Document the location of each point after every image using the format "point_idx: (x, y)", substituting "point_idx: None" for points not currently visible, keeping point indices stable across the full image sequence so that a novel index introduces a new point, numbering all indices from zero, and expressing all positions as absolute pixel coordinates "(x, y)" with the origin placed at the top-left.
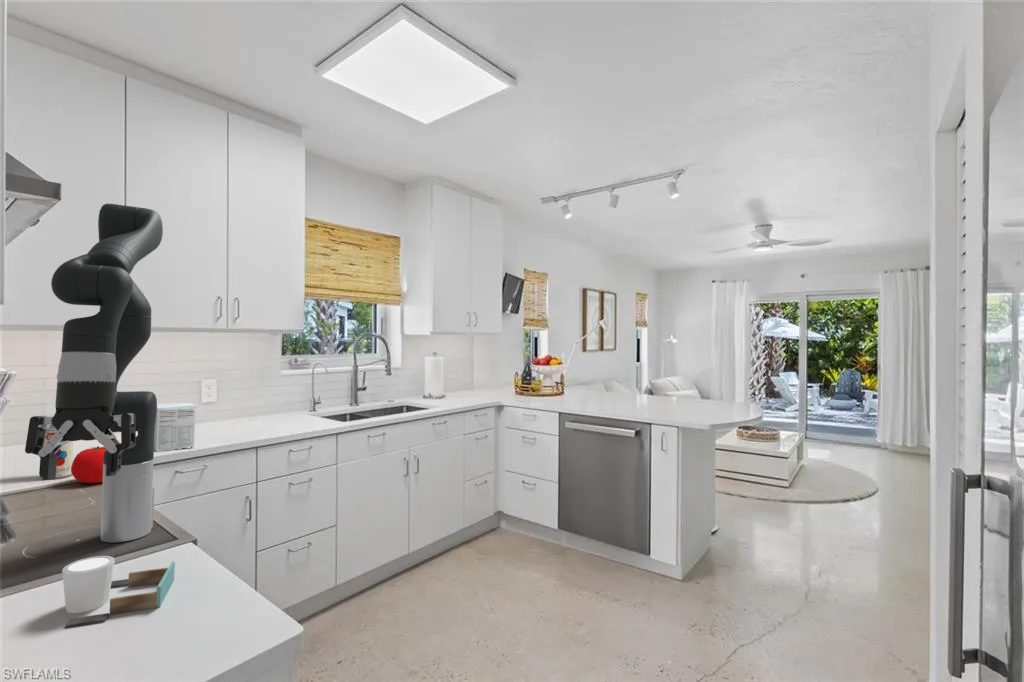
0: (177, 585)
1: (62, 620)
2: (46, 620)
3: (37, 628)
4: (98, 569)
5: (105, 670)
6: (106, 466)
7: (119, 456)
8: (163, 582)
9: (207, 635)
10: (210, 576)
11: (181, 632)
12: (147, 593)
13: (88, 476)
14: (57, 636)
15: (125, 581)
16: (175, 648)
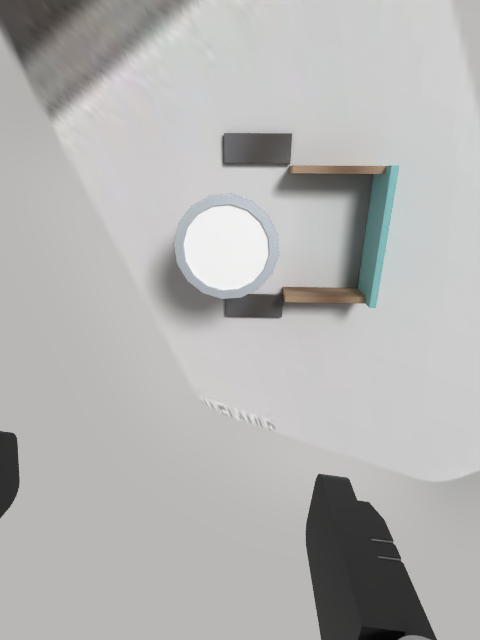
0: None
1: None
2: None
3: (182, 299)
4: (257, 289)
5: (314, 439)
6: (315, 597)
7: (410, 626)
8: (378, 284)
9: (434, 407)
10: (459, 176)
11: (399, 387)
12: (348, 299)
13: None
14: (224, 336)
15: (278, 147)
16: (392, 423)
